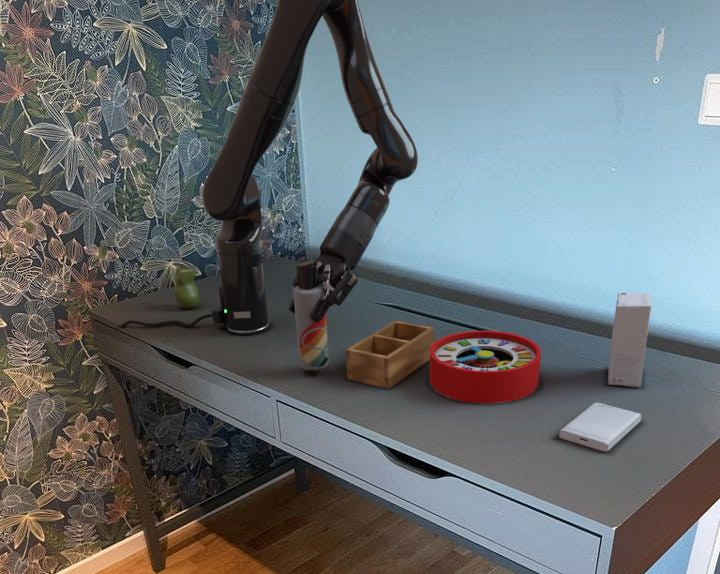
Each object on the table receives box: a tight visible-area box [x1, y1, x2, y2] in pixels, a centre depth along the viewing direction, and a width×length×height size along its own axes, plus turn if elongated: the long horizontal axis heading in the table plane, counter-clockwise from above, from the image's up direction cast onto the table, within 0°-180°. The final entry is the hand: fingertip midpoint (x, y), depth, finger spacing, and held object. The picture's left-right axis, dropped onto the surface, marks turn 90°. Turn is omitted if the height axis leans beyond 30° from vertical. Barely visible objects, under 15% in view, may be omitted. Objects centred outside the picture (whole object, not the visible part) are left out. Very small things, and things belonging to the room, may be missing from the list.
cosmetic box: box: [607, 292, 653, 388], centre depth 138 cm, size 8×6×15 cm
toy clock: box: [428, 330, 542, 405], centre depth 141 cm, size 20×6×20 cm
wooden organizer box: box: [345, 320, 436, 390], centre depth 148 cm, size 9×18×6 cm, turn 147°
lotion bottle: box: [293, 259, 330, 371], centre depth 143 cm, size 6×6×20 cm
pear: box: [174, 265, 200, 310], centre depth 183 cm, size 6×5×10 cm
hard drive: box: [558, 402, 642, 453], centre depth 124 cm, size 2×8×12 cm
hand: (303, 316), depth 142 cm, fingers closed on lotion bottle, 5 cm apart
